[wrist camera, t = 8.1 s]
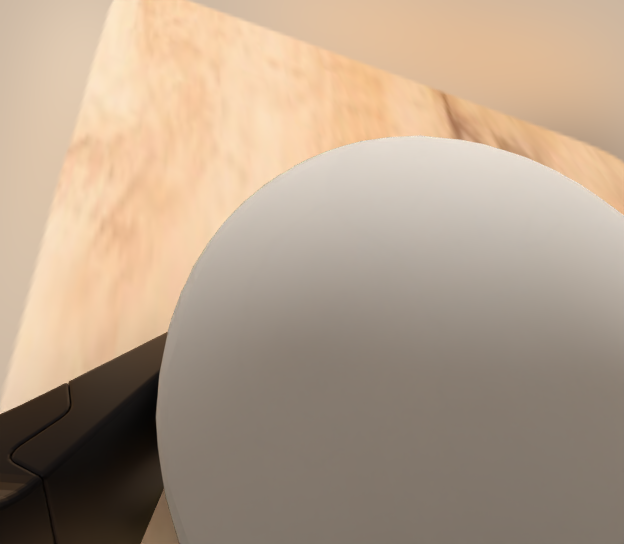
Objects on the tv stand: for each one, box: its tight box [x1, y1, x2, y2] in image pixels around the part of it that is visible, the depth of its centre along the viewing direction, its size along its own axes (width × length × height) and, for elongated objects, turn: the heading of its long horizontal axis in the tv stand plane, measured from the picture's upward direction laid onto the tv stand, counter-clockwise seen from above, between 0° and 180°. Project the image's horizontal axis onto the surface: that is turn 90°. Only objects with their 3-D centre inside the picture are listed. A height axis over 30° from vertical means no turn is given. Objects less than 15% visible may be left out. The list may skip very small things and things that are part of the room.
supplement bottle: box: [156, 136, 624, 544], centre depth 9 cm, size 7×7×13 cm
